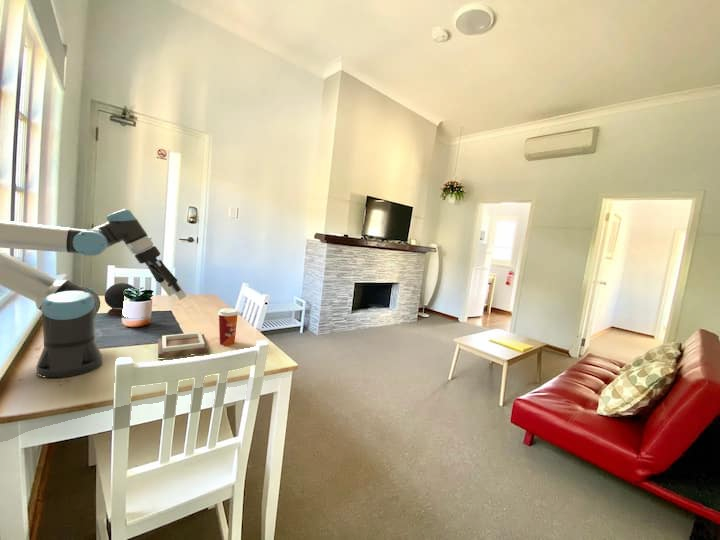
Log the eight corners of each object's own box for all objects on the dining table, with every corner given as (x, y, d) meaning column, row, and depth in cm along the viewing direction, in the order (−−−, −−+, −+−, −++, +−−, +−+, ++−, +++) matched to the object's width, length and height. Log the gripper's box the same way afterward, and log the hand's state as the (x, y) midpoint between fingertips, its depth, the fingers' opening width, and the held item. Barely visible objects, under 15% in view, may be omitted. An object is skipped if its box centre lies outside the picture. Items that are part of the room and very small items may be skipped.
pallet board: (158, 359, 107) (158, 350, 107) (158, 343, 121) (158, 335, 120) (208, 353, 116) (208, 344, 116) (203, 338, 129) (203, 330, 129)
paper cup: (229, 347, 123) (231, 313, 121) (212, 344, 124) (213, 311, 122) (241, 341, 130) (242, 309, 129) (225, 338, 132) (226, 306, 130)
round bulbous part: (130, 317, 148) (130, 286, 146) (98, 316, 145) (98, 285, 143) (143, 309, 161) (143, 281, 159) (113, 309, 158) (113, 280, 156)
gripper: (163, 244, 108) (197, 293, 117) (146, 245, 125) (176, 288, 134) (141, 255, 104) (178, 305, 112) (127, 254, 121) (159, 298, 129)
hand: (177, 296), depth 123 cm, fingers open, 13 cm apart
